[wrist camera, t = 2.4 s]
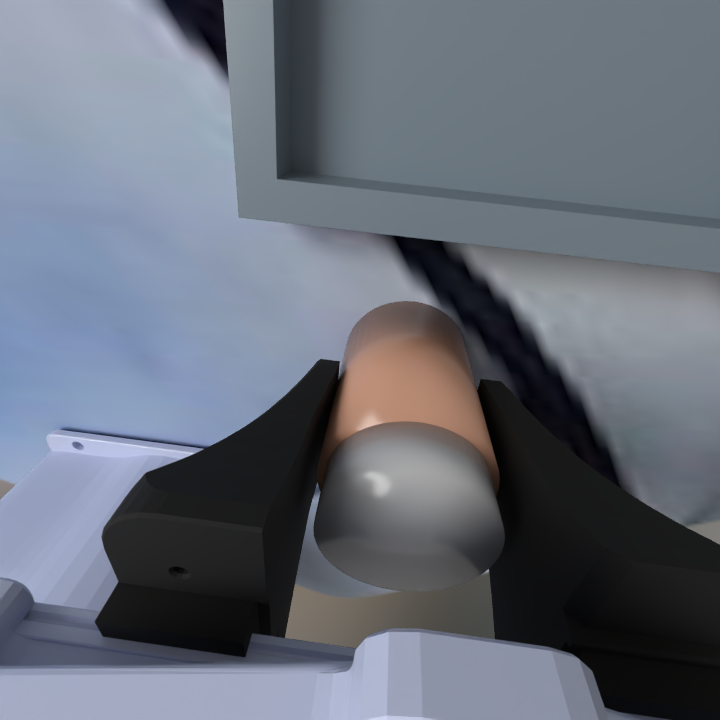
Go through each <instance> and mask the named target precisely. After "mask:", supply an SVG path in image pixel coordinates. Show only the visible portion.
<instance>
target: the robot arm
mask: <svg viewBox="0 0 720 720" xmlns="http://www.w3.org/2000/svg"><path fill="white" fill-rule="evenodd" d="M339 363H340V361H332V360H324V359H320V360H319V361H317V362H316V364H315V365H314V366H313V367H312V368H311V370H310V371H309V372H308V373H307V374H306V375H305V376H304V377H303V378H302V379H301V380H300V381H299V382H298V383H297V384H296V385H295V386H294V387H293V388H292V389H291V390H290V391H289V392H288V393H287V394H286V395H285V396H284V397H283V398H282V399H280V400H279V401H278V402H277V403H276V404H275V405H273V406H272V407H271V408H270V409H269V410H267V411H266V412H265V413H264V414H262V415H261V416H260V417H258V418H257V419H255V420H254V421H253V422H251V423H250V424H248V425H247V426H245V427H244V428H242V429H240V430H239V431H237V432H235V433H234V434H232V435H230V436H228V437H227V438H225V439H223V440H221V441H220V442H218V443H216V444H214V445H212V446H210V447H208V448H206V449H202V448H194V447H187V446H179V445H171V444H164V443H156V442H149V441H141V440H134V439H126V438H118V437H111V436H103V435H96V434H88V433H80V432H73V431H65V430H54V431H52V432H51V433H50V434H49V435H48V436H47V438H46V439H47V443H48V445H49V447H50V449H51V451H50V452H49V453H48V454H47V455H46V456H45V457H44V458H43V459H42V460H41V461H40V462H39V463H38V464H37V465H36V466H35V467H34V468H33V469H32V470H31V471H30V472H29V473H28V474H27V475H26V476H25V477H24V478H23V479H21V480H20V481H19V482H18V483H17V484H16V485H15V486H14V487H13V488H12V489H11V490H10V491H9V492H8V493H7V494H6V495H5V496H4V497H3V498H2V499H1V500H0V720H720V545H719V544H717V543H715V542H713V541H712V540H710V539H708V538H705V537H704V536H702V535H700V534H698V533H696V532H694V531H692V530H690V529H688V528H686V527H684V526H682V525H681V524H679V523H677V522H675V521H673V520H672V519H670V518H668V517H667V516H665V515H663V514H661V513H660V512H658V511H656V510H654V509H653V508H651V507H649V506H648V505H646V504H644V503H643V502H641V501H640V500H638V499H636V498H635V497H633V496H632V495H630V494H629V493H627V492H626V491H624V490H623V489H621V488H620V487H618V486H617V485H615V484H614V483H612V482H611V481H609V480H608V479H607V478H605V477H604V476H602V475H601V474H600V473H598V472H597V471H596V470H594V469H593V468H592V467H591V466H589V465H588V464H587V463H585V462H584V461H583V460H582V459H580V458H579V457H578V456H577V455H575V454H574V453H573V452H572V451H571V450H569V449H568V448H567V447H566V446H565V445H564V444H563V443H561V442H560V441H559V440H558V439H557V438H556V437H555V436H554V435H553V434H552V433H551V432H549V431H548V430H547V429H546V428H545V427H544V426H543V425H542V424H541V423H540V422H539V421H538V420H537V419H536V418H535V417H534V416H533V415H532V414H531V413H530V412H529V411H528V409H527V408H526V407H525V406H524V405H523V404H522V403H521V402H520V401H519V400H518V399H517V398H516V397H515V396H514V395H513V394H512V393H511V391H510V390H509V389H508V388H507V387H506V386H505V385H504V384H503V383H502V382H500V381H493V380H485V379H481V380H480V384H479V387H478V390H477V392H478V395H479V399H480V403H481V407H482V410H483V414H484V418H485V421H486V425H487V429H488V432H489V436H490V440H491V444H492V447H493V451H494V455H495V458H496V462H497V466H498V469H499V477H500V482H499V489H498V492H497V495H496V499H497V503H498V507H499V511H500V515H501V519H502V523H503V527H504V533H505V541H504V547H503V549H502V552H501V554H500V556H499V557H498V559H497V560H496V562H495V563H494V564H493V565H492V566H491V567H490V568H489V573H490V583H491V594H492V605H493V618H494V632H495V639H489V638H482V637H475V636H468V635H461V634H454V633H447V632H440V631H433V630H426V629H419V628H390V629H386V630H383V631H380V632H376V633H373V634H370V635H369V636H368V637H367V638H366V639H365V640H364V641H363V642H362V643H361V644H360V645H359V647H358V648H350V647H343V646H336V645H329V644H322V643H315V642H308V641H302V640H295V639H287V638H285V633H286V628H287V623H288V617H289V612H290V606H291V600H292V596H293V590H294V585H295V580H296V575H297V569H298V564H299V559H300V554H301V549H302V544H303V539H304V534H305V529H306V524H307V519H308V515H309V510H310V506H311V502H312V498H313V495H314V492H315V488H316V485H317V482H318V481H317V469H318V463H319V459H320V454H321V450H322V446H323V442H324V437H325V433H326V429H327V425H328V421H329V416H330V412H331V408H332V404H333V400H334V396H335V391H336V387H337V383H338V377H339Z"/></svg>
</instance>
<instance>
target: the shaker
mask: <svg viewBox="0 0 720 720" xmlns="http://www.w3.org/2000/svg"><path fill="white" fill-rule="evenodd" d="M317 481H318V485H319V489H320V491H321V493H320V498H319V502H318V507H317V512H316V516H315V522H314V537H315V540H316V543H317V545H318V548H319V550H320V551H321V552H322V554H323V555H324V557H325V558H326V559H327V560H328V561H329V562H330V563H331V564H332V565H334V566H335V567H336V568H337V569H339V570H340V571H342V572H343V573H345V574H347V575H349V576H350V577H352V578H354V579H357V580H359V581H361V582H364V583H367V584H370V585H373V586H377V587H381V588H385V589H391V590H399V591H432V590H440V589H445V588H450V587H453V586H457V585H460V584H463V583H465V582H468V581H470V580H472V579H474V578H476V577H478V576H479V575H481V574H482V573H484V572H485V571H486V570H488V569H489V568H490V567H491V566H492V565H493V564H494V563H495V562H496V560H497V559H498V557H499V556H500V554H501V552H502V549H503V547H504V541H505V533H504V527H503V523H502V519H501V515H500V511H499V507H498V503H497V499H496V495H497V492H498V489H499V482H500V477H499V469H498V466H497V462H496V458H495V455H494V451H493V447H492V444H491V440H490V436H489V432H488V429H487V425H486V421H485V418H484V414H483V410H482V407H481V403H480V399H479V395H478V392H477V388H476V384H475V381H474V377H473V373H472V370H471V366H470V362H469V358H468V355H467V351H466V347H465V344H464V340H463V337H462V334H461V332H460V330H459V329H458V327H457V326H456V324H455V323H454V322H453V321H452V320H451V319H450V318H449V317H448V316H447V315H446V314H445V313H443V312H441V311H440V310H438V309H436V308H434V307H432V306H429V305H426V304H423V303H418V302H408V301H404V302H394V303H389V304H386V305H383V306H380V307H378V308H376V309H374V310H372V311H370V312H369V313H367V314H366V315H365V316H364V317H362V318H361V319H360V320H359V321H358V322H357V324H356V325H355V326H354V328H353V329H352V331H351V333H350V335H349V338H348V341H347V345H346V349H345V353H344V357H343V362H342V366H341V370H340V374H339V378H338V383H337V387H336V391H335V396H334V400H333V404H332V408H331V412H330V416H329V421H328V425H327V429H326V433H325V437H324V442H323V446H322V450H321V454H320V459H319V463H318V469H317Z"/></svg>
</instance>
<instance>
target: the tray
mask: <svg viewBox="0 0 720 720" xmlns="http://www.w3.org/2000/svg"><path fill="white" fill-rule="evenodd" d="M223 4H224V18H225V32H226V46H227V60H228V74H229V87H230V101H231V115H232V129H233V143H234V157H235V171H236V185H237V199H238V212H239V218H247V219H256V220H265V221H274V222H282V223H291V224H300V225H308V226H317V227H326V228H334V229H343V230H352V231H360V232H369V233H378V234H386V235H395V236H404V237H412V238H421V239H430V240H438V241H447V242H456V243H464V244H473V245H482V246H490V247H499V248H508V249H516V250H525V251H534V252H542V253H551V254H560V255H568V256H577V257H586V258H594V259H603V260H612V261H620V262H629V263H638V264H646V265H655V266H664V267H672V268H681V269H690V270H698V271H707V272H716V273H720V0H223Z"/></svg>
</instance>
